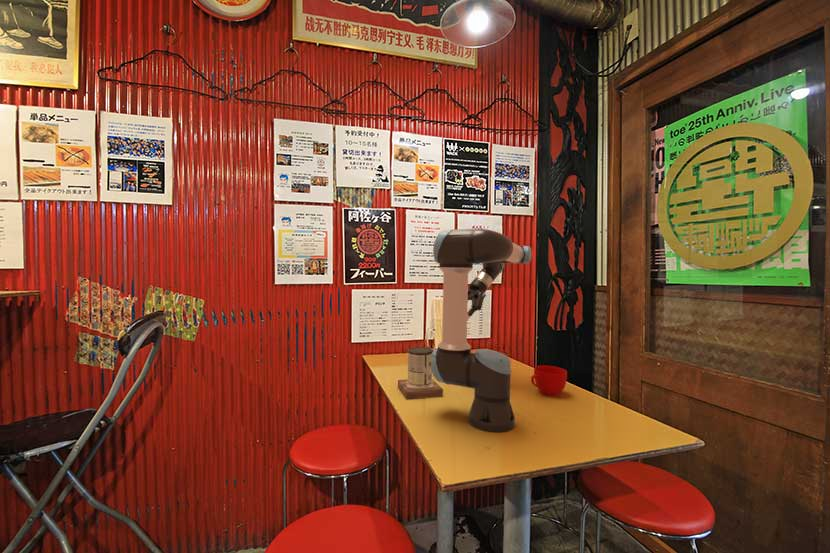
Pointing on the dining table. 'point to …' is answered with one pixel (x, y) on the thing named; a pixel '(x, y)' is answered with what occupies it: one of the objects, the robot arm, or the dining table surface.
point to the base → (419, 390)
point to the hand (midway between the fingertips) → (453, 318)
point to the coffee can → (419, 366)
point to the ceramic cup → (549, 379)
